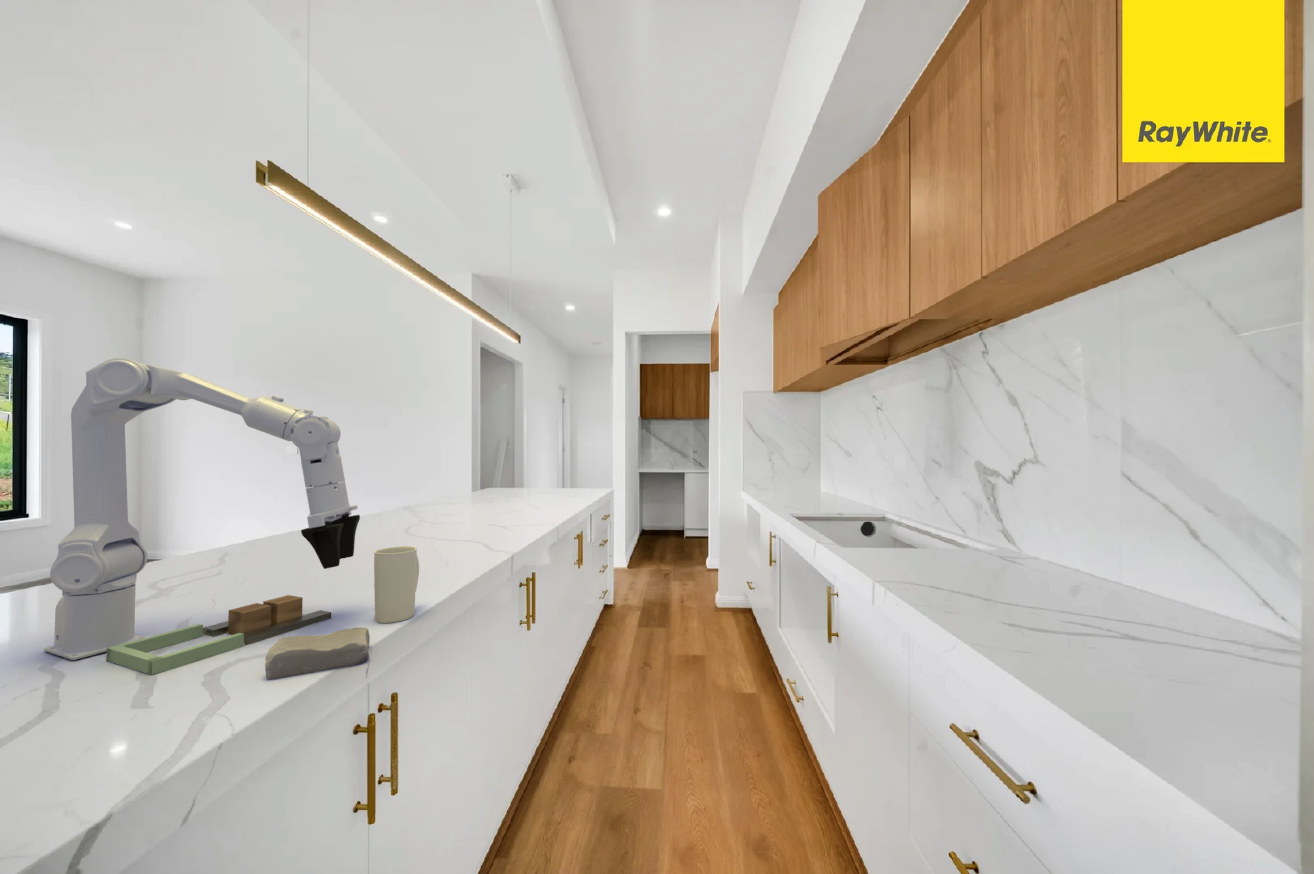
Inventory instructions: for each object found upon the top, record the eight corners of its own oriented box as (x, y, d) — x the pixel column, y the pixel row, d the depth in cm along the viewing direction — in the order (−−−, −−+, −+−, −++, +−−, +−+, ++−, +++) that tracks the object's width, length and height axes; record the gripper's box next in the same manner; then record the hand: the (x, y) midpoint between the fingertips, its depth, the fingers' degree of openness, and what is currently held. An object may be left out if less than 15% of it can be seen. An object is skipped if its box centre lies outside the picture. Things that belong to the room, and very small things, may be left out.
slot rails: (202, 633, 79) (202, 627, 79) (288, 609, 91) (288, 604, 91) (247, 644, 75) (247, 637, 75) (331, 617, 87) (331, 612, 87)
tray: (106, 660, 69) (106, 647, 69) (198, 634, 79) (198, 623, 79) (151, 675, 65) (152, 661, 65) (243, 645, 74) (243, 633, 74)
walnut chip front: (228, 634, 79) (228, 610, 79) (256, 626, 83) (256, 602, 83) (242, 638, 78) (243, 613, 78) (270, 629, 81) (271, 605, 82)
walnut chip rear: (262, 624, 84) (263, 601, 84) (287, 617, 88) (288, 594, 88) (277, 627, 82) (277, 603, 83) (302, 620, 86) (302, 597, 86)
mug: (399, 624, 83) (400, 554, 84) (364, 623, 84) (365, 553, 84) (434, 606, 93) (434, 543, 94) (401, 604, 94) (402, 542, 94)
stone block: (276, 669, 70) (259, 684, 62) (280, 634, 72) (263, 644, 63) (371, 656, 76) (367, 668, 67) (373, 624, 77) (370, 631, 68)
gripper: (337, 483, 78) (352, 566, 79) (363, 478, 92) (376, 548, 92) (286, 491, 76) (301, 576, 77) (321, 485, 90) (334, 557, 90)
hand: (339, 562), depth 84 cm, fingers open, 7 cm apart
